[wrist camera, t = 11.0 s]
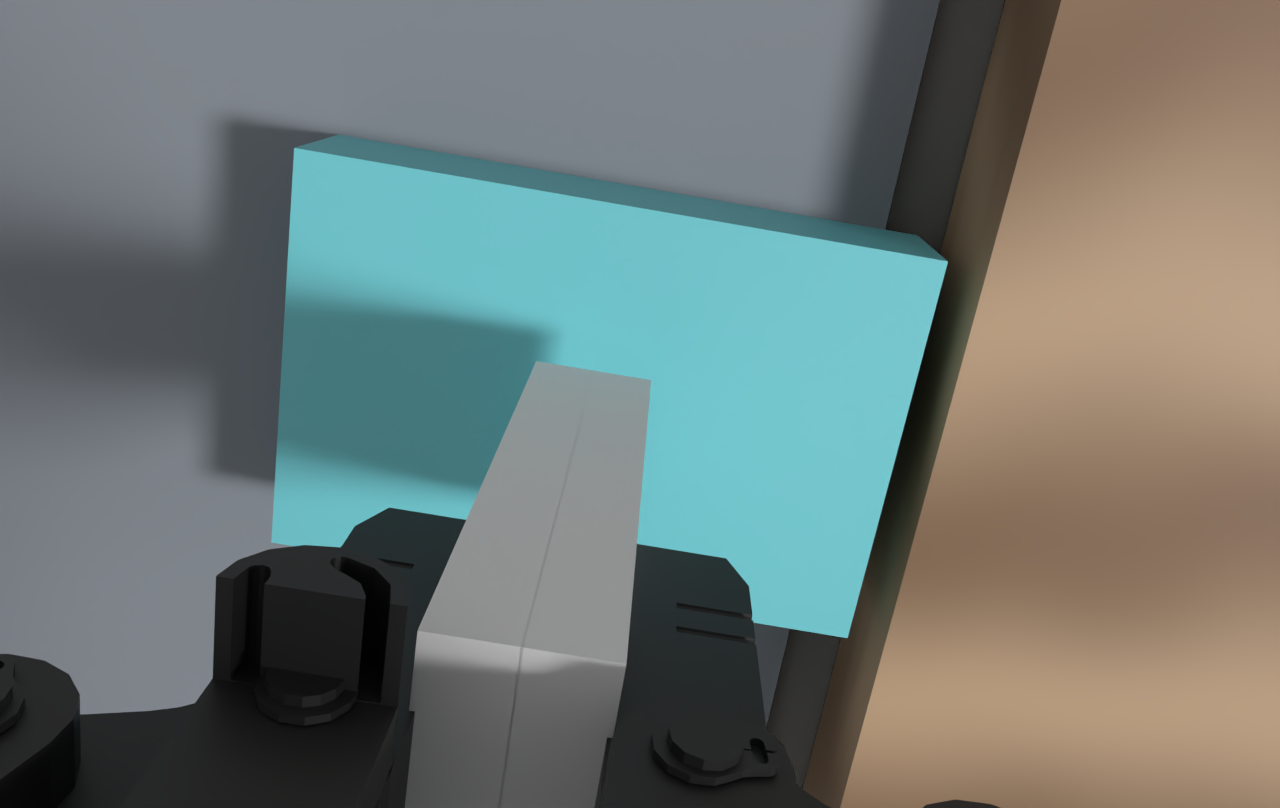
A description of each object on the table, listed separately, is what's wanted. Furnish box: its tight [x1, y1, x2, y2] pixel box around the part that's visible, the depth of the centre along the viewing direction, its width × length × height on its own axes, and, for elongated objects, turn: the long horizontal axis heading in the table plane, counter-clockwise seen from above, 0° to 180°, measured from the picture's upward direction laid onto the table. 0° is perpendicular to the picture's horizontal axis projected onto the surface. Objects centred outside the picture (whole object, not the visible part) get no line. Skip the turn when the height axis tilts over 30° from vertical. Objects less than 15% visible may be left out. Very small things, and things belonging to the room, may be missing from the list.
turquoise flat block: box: [271, 135, 948, 638], centre depth 16 cm, size 6×9×2 cm, turn 80°
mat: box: [0, 0, 940, 727], centre depth 18 cm, size 20×15×1 cm
